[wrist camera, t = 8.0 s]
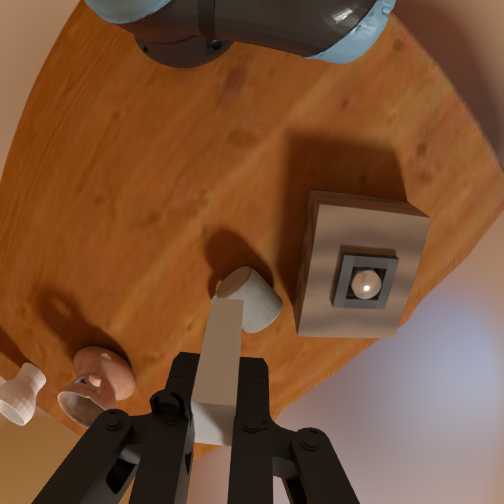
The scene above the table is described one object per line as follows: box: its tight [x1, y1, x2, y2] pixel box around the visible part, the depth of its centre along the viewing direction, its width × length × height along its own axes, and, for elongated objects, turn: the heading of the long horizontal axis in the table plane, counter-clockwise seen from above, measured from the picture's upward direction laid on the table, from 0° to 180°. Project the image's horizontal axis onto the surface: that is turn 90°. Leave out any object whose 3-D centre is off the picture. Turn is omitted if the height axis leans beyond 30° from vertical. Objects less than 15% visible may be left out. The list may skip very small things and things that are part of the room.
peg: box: [349, 266, 381, 299], centre depth 45 cm, size 4×4×8 cm
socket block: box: [293, 189, 431, 338], centre depth 46 cm, size 20×16×9 cm
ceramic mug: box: [211, 266, 283, 333], centre depth 50 cm, size 11×8×8 cm
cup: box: [0, 363, 46, 426], centre depth 58 cm, size 11×11×15 cm
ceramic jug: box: [58, 346, 136, 428], centre depth 55 cm, size 18×14×14 cm
